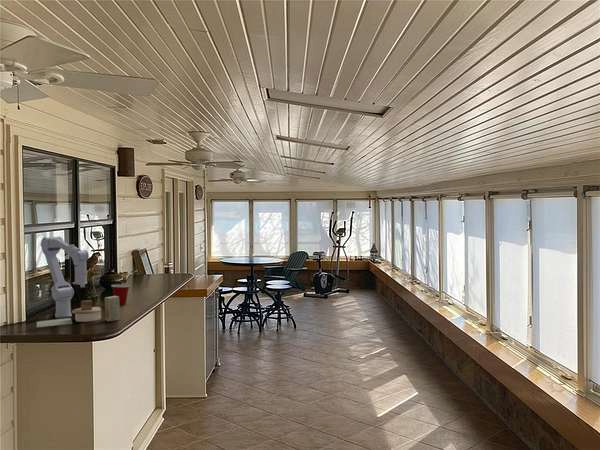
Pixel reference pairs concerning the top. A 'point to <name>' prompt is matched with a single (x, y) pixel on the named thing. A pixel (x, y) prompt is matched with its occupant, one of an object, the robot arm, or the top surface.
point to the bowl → (88, 317)
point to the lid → (86, 308)
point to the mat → (54, 322)
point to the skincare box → (112, 308)
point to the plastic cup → (121, 292)
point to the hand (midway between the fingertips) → (81, 299)
